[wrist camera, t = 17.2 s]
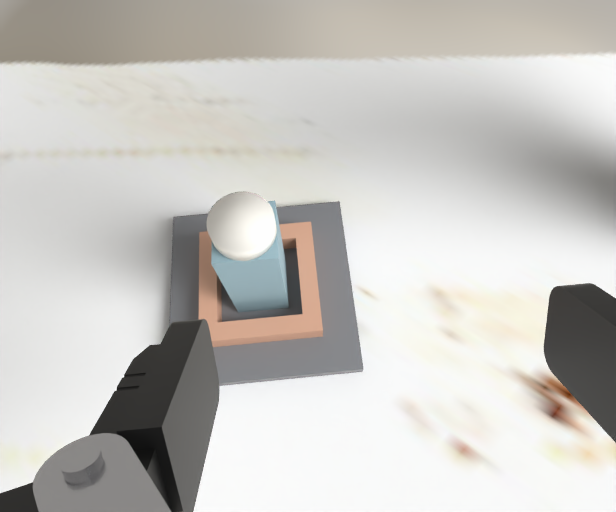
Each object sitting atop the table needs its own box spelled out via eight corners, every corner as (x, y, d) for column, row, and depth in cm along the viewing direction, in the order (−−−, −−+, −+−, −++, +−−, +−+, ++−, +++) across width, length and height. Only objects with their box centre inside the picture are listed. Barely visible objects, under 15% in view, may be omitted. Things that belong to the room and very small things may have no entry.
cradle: (339, 207, 44) (340, 190, 41) (362, 371, 38) (365, 364, 35) (177, 223, 44) (166, 206, 41) (171, 390, 38) (159, 384, 35)
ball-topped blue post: (285, 261, 41) (272, 188, 30) (288, 307, 39) (276, 248, 28) (237, 266, 41) (206, 194, 30) (238, 312, 39) (206, 254, 28)
